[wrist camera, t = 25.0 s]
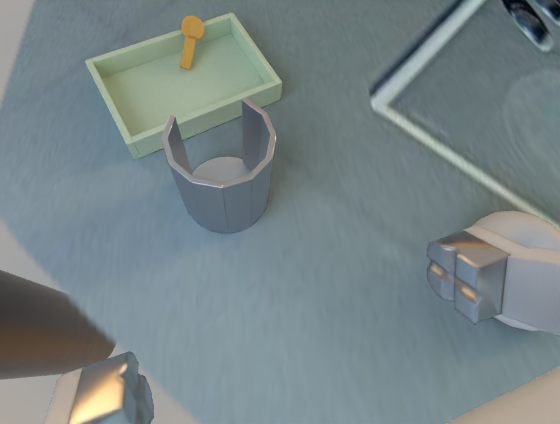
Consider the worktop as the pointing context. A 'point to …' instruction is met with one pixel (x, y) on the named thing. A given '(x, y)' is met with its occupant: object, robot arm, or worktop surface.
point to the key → (190, 38)
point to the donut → (522, 239)
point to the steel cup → (226, 175)
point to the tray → (183, 83)
